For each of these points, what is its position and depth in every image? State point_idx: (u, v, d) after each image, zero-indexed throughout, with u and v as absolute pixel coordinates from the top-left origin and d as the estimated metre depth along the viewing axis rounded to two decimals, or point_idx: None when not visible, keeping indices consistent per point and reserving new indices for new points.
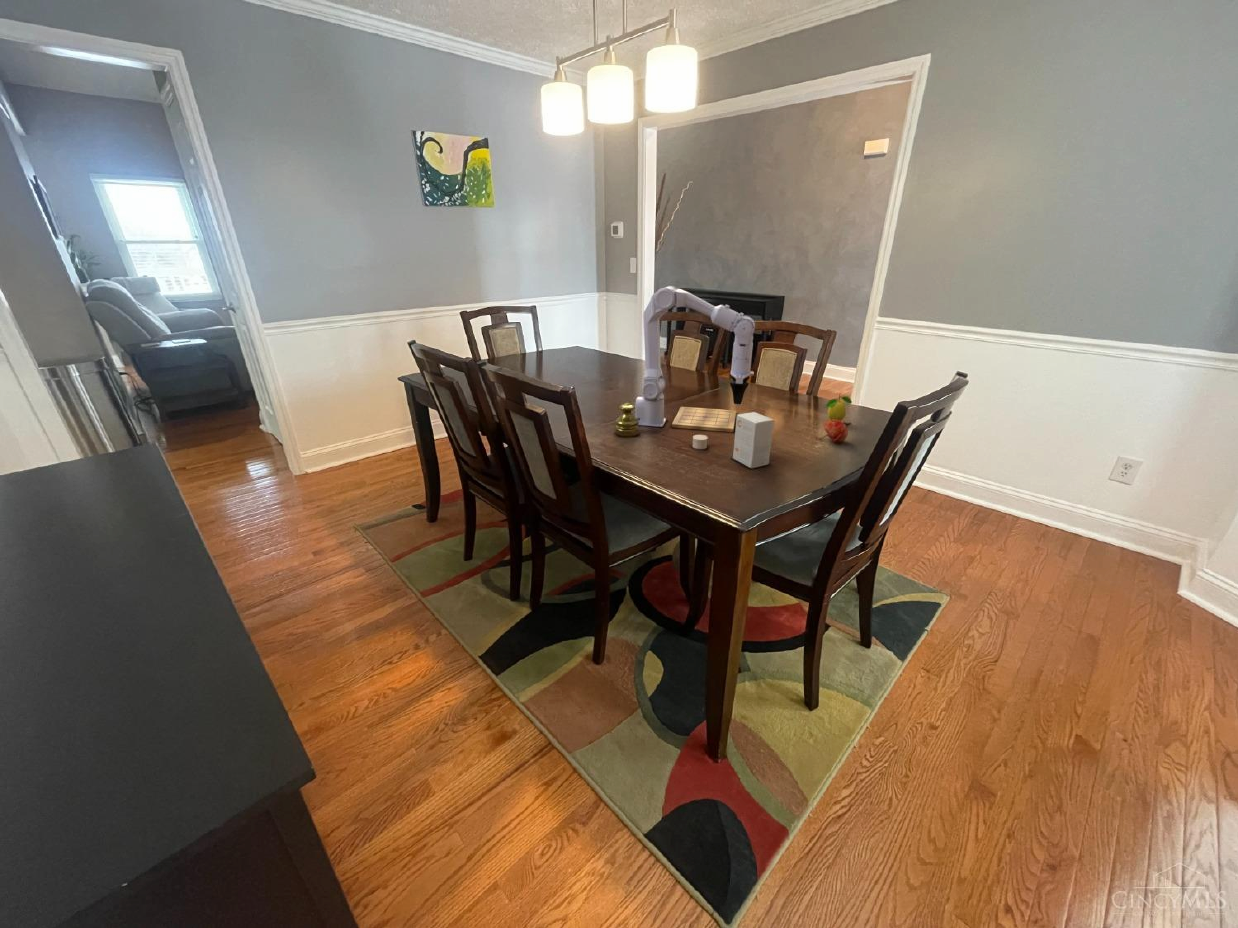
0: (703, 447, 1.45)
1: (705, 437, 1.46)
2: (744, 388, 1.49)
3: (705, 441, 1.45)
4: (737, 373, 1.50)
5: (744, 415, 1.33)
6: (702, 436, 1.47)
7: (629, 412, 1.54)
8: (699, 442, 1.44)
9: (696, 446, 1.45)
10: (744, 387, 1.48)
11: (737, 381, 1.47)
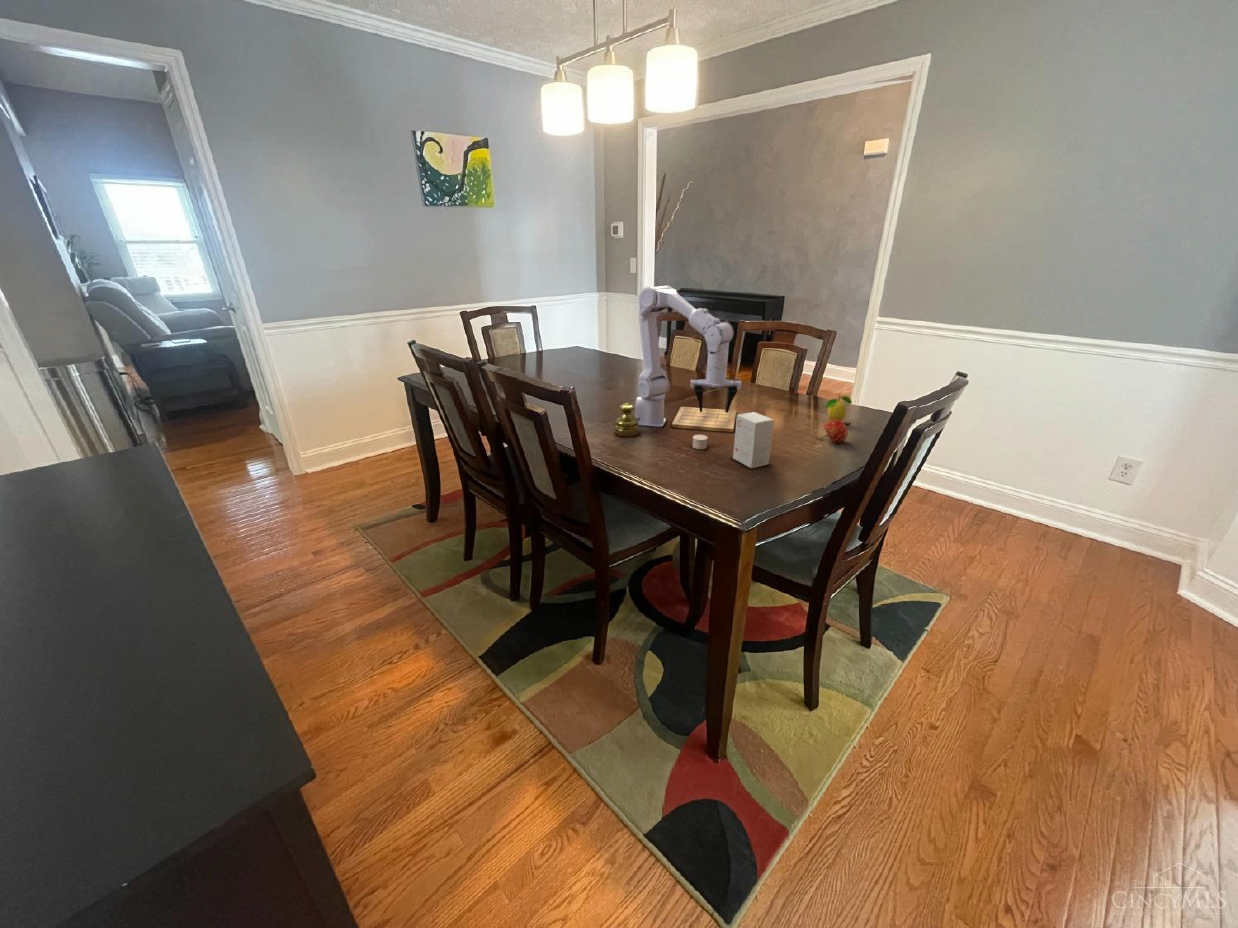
0: (703, 447, 1.45)
1: (705, 437, 1.46)
2: (696, 394, 1.44)
3: (705, 441, 1.45)
4: (706, 380, 1.45)
5: (744, 415, 1.33)
6: (702, 436, 1.47)
7: (629, 412, 1.54)
8: (699, 442, 1.44)
9: (696, 446, 1.45)
10: None
11: None
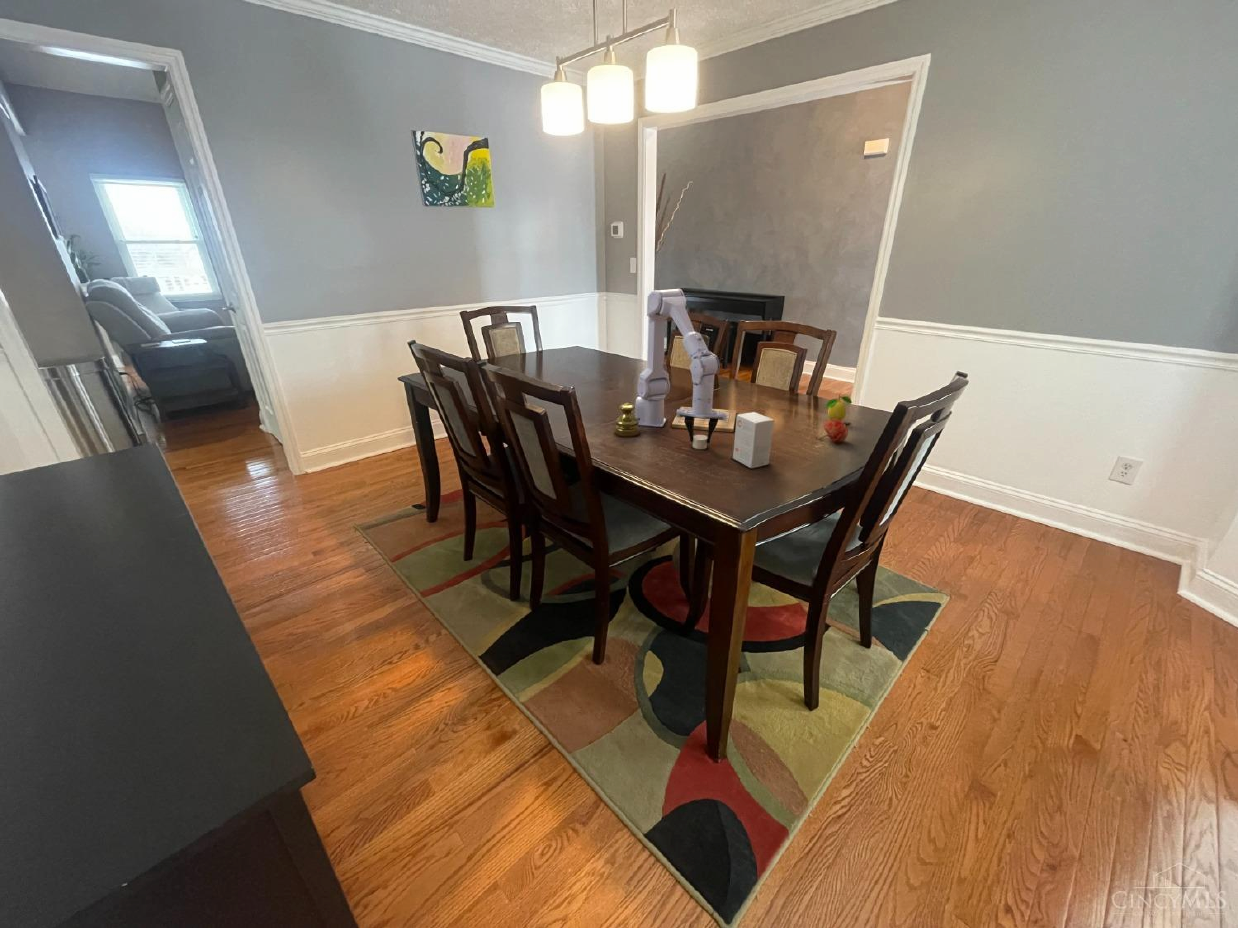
0: (703, 447, 1.45)
1: (705, 437, 1.46)
2: None
3: (705, 441, 1.45)
4: None
5: (744, 415, 1.33)
6: (702, 436, 1.47)
7: (629, 412, 1.54)
8: (699, 442, 1.44)
9: (696, 446, 1.45)
10: None
11: None
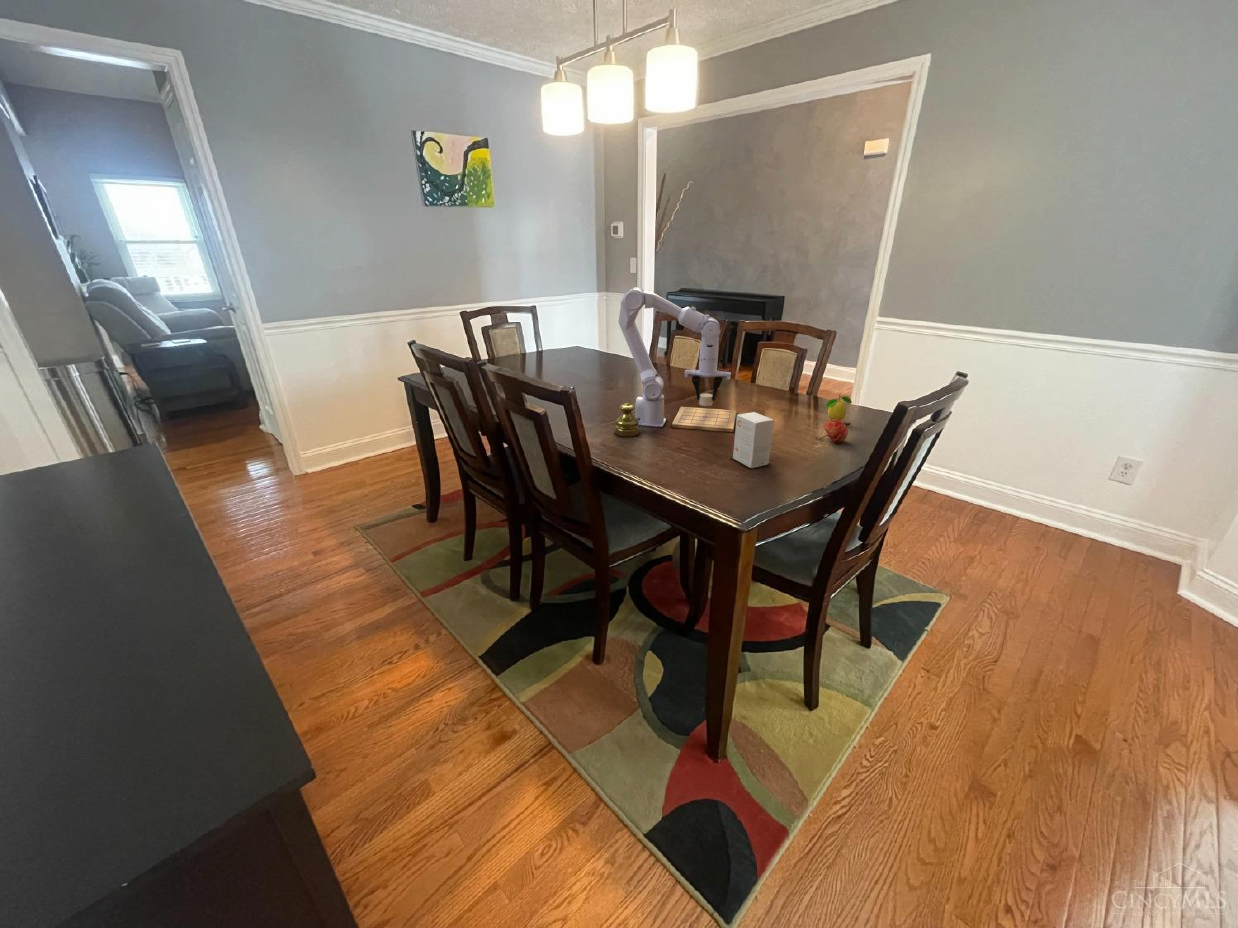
0: (709, 404, 1.60)
1: (711, 395, 1.61)
2: (693, 383, 1.59)
3: (711, 398, 1.60)
4: None
5: (744, 415, 1.33)
6: (707, 394, 1.62)
7: (629, 412, 1.54)
8: (705, 399, 1.59)
9: (702, 403, 1.60)
10: None
11: None
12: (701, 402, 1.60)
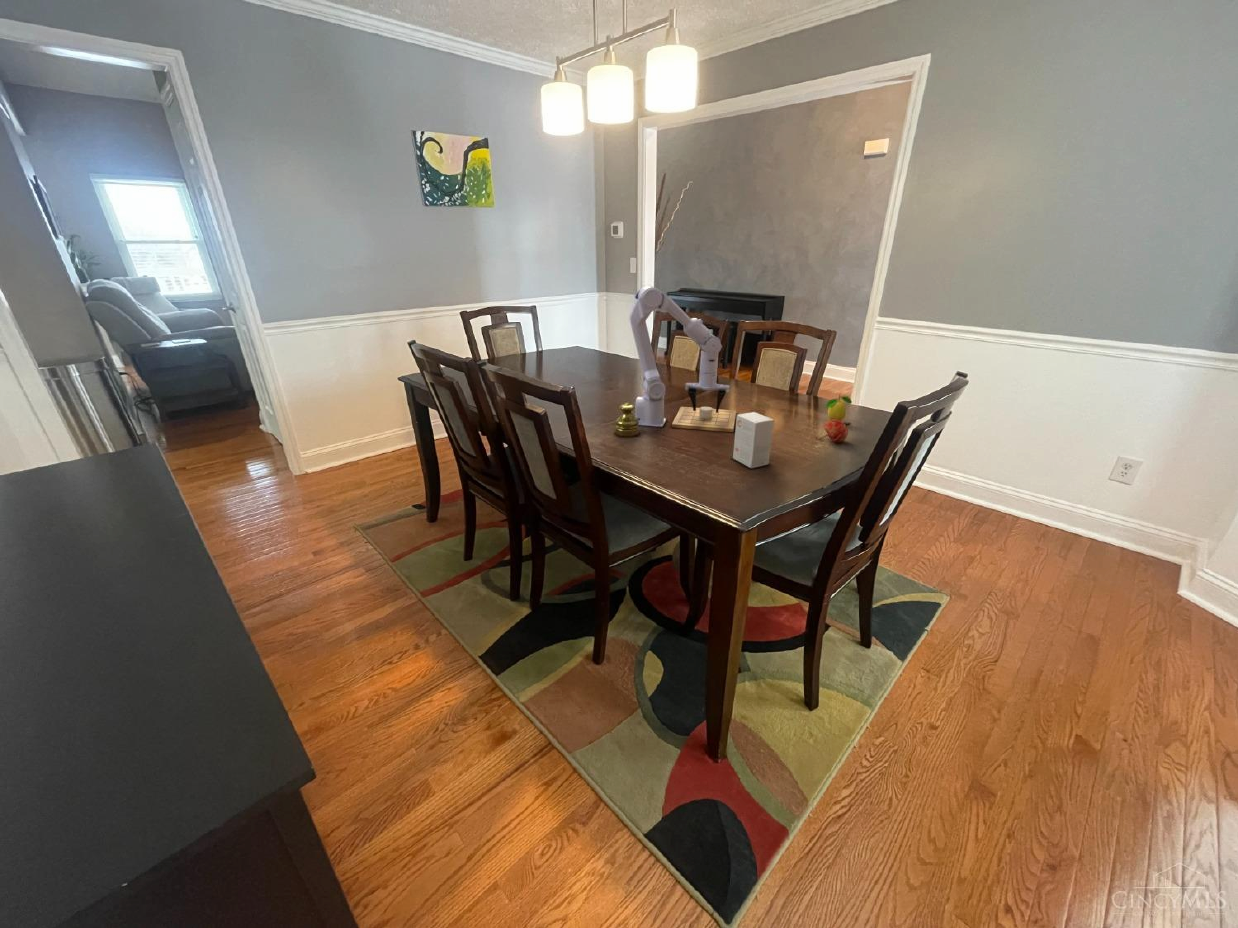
0: (708, 417, 1.67)
1: (710, 408, 1.68)
2: (689, 395, 1.66)
3: (710, 411, 1.67)
4: None
5: (744, 415, 1.33)
6: (707, 407, 1.68)
7: (629, 412, 1.54)
8: (705, 412, 1.66)
9: (702, 416, 1.67)
10: None
11: None
12: (701, 415, 1.67)
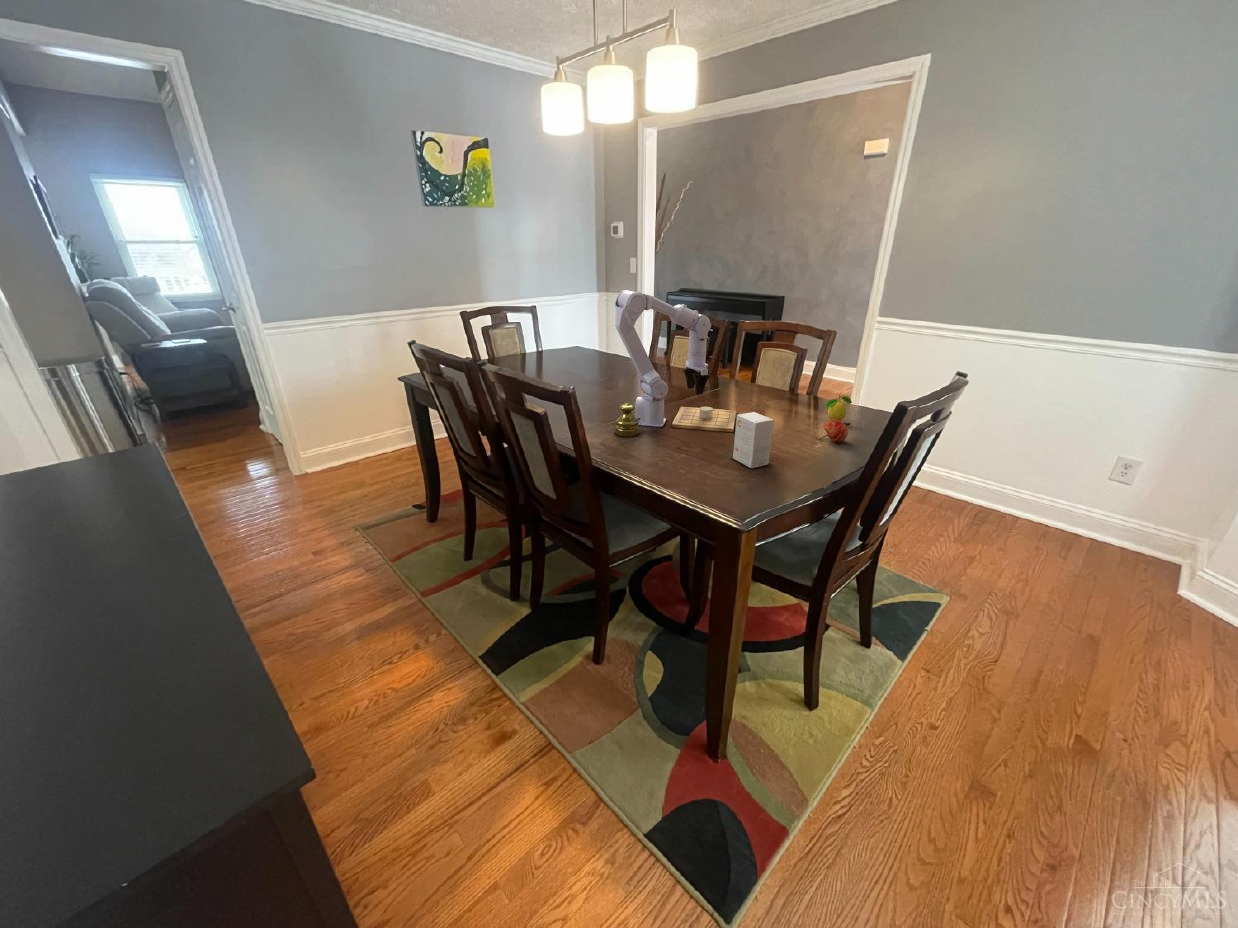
0: (708, 417, 1.67)
1: (710, 408, 1.68)
2: (707, 379, 1.62)
3: (710, 411, 1.67)
4: (697, 366, 1.63)
5: (744, 415, 1.33)
6: (707, 407, 1.68)
7: (629, 412, 1.54)
8: (705, 412, 1.66)
9: (702, 416, 1.67)
10: (707, 378, 1.62)
11: (703, 373, 1.59)
12: (701, 415, 1.67)
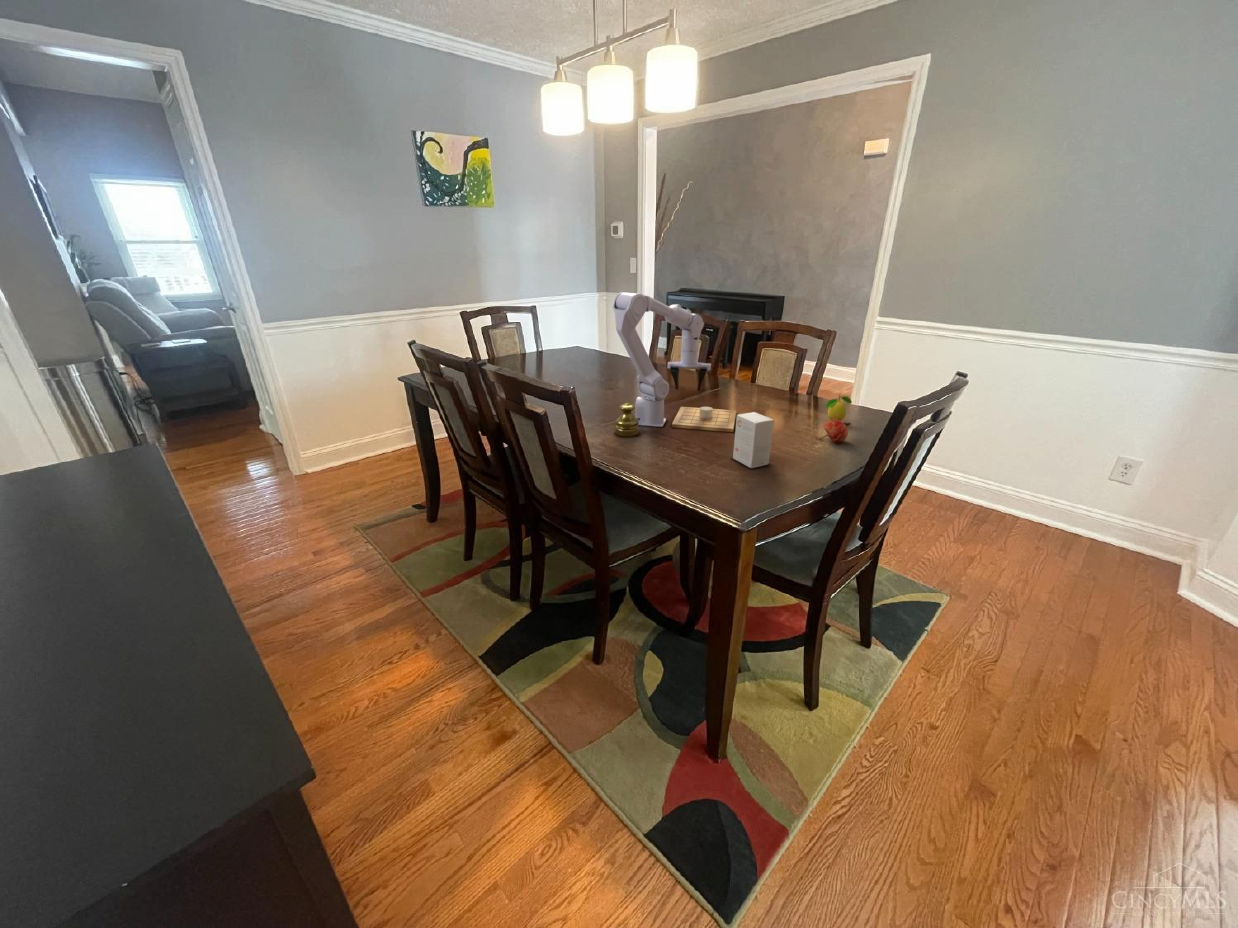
0: (708, 417, 1.67)
1: (710, 408, 1.68)
2: None
3: (710, 411, 1.67)
4: (697, 363, 1.66)
5: (744, 415, 1.33)
6: (707, 407, 1.68)
7: (629, 412, 1.54)
8: (705, 412, 1.66)
9: (702, 416, 1.67)
10: None
11: (710, 368, 1.66)
12: (701, 415, 1.67)
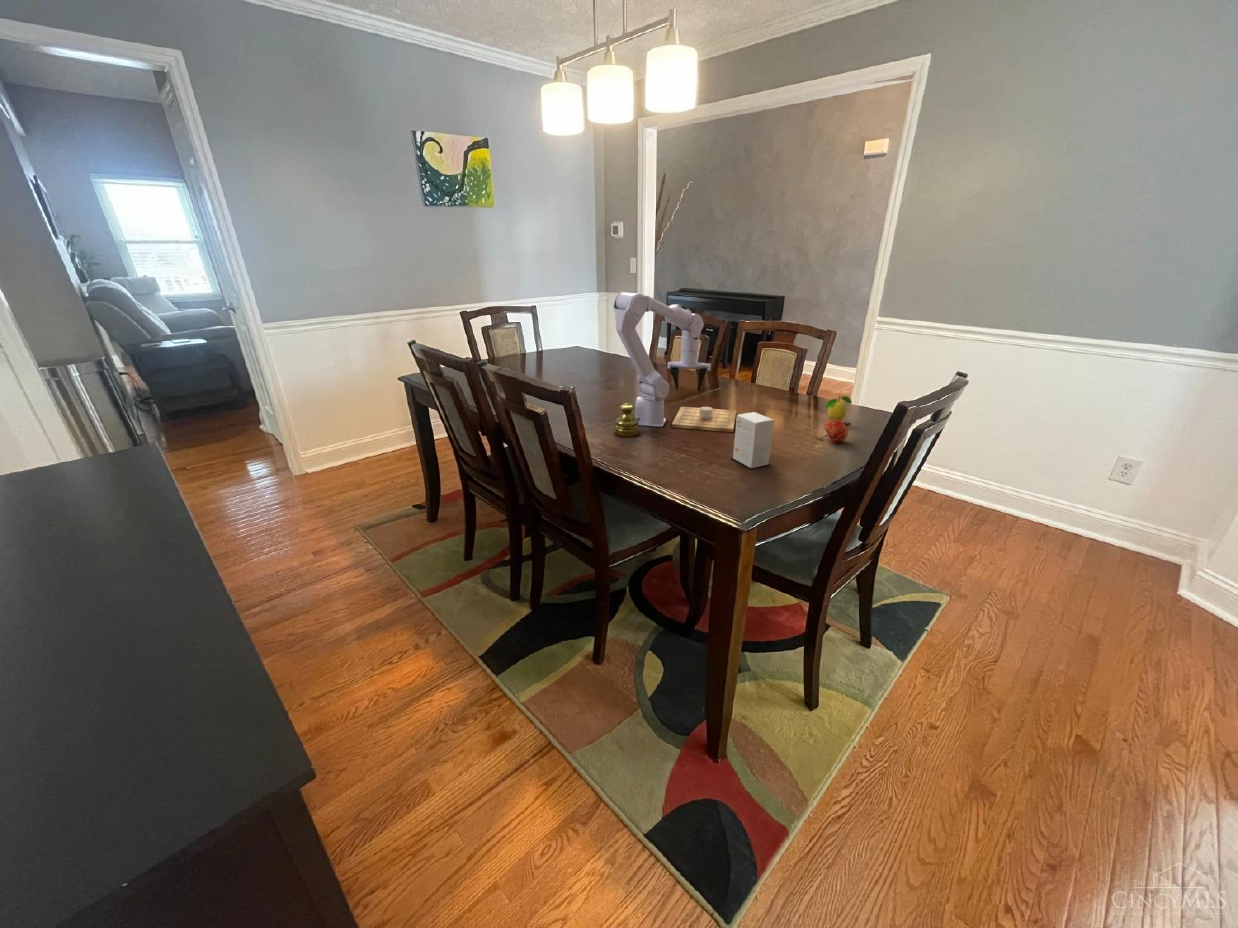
0: (708, 417, 1.67)
1: (710, 408, 1.68)
2: None
3: (710, 411, 1.67)
4: (697, 363, 1.66)
5: (744, 415, 1.33)
6: (707, 407, 1.68)
7: (629, 412, 1.54)
8: (705, 412, 1.66)
9: (702, 416, 1.67)
10: None
11: (710, 368, 1.66)
12: (701, 415, 1.67)
